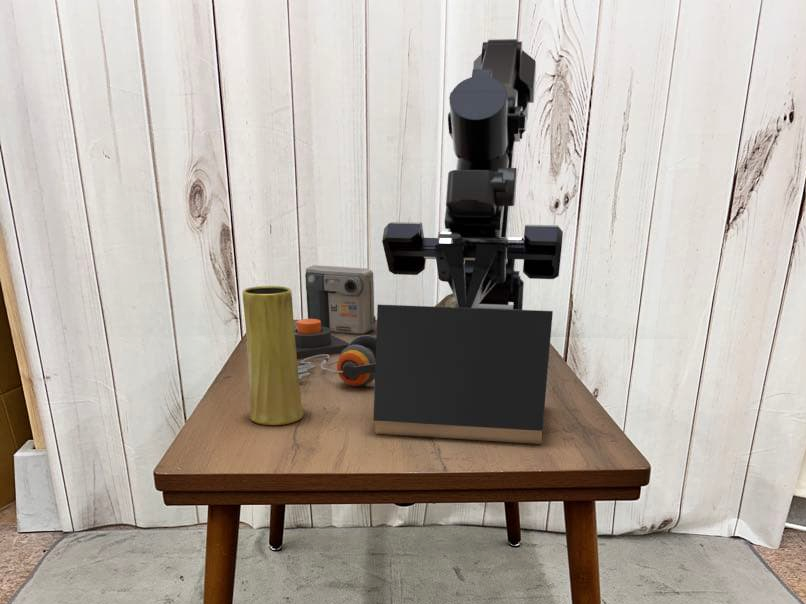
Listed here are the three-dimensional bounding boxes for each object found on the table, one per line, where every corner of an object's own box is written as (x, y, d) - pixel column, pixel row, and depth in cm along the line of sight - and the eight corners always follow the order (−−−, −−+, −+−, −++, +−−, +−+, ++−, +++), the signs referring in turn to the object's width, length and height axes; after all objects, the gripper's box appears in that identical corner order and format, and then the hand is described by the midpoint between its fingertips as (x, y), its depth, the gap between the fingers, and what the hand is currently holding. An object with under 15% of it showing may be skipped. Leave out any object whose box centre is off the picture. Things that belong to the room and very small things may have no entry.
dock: (329, 341, 123) (328, 322, 122) (351, 352, 117) (350, 332, 116) (269, 348, 119) (267, 328, 117) (289, 360, 113) (288, 339, 111)
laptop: (395, 401, 96) (395, 387, 95) (543, 409, 93) (544, 395, 92) (375, 433, 85) (375, 418, 85) (541, 444, 83) (542, 429, 82)
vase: (252, 409, 93) (241, 285, 86) (304, 408, 93) (296, 284, 87) (247, 426, 87) (235, 295, 81) (302, 425, 88) (294, 294, 81)
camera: (302, 330, 130) (299, 267, 125) (319, 324, 134) (316, 263, 130) (364, 337, 126) (363, 272, 121) (379, 329, 131) (378, 267, 126)
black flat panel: (379, 304, 82) (377, 304, 81) (552, 311, 79) (552, 310, 78) (375, 419, 85) (373, 420, 84) (542, 430, 82) (542, 430, 81)
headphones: (295, 341, 112) (429, 313, 107) (305, 376, 114) (437, 351, 109) (255, 373, 97) (409, 343, 92) (268, 413, 99) (419, 386, 94)
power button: (315, 329, 119) (314, 317, 118) (325, 334, 116) (324, 322, 115) (293, 332, 117) (292, 320, 117) (302, 336, 115) (302, 324, 114)
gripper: (384, 136, 79) (363, 267, 75) (571, 137, 76) (560, 273, 72) (399, 212, 90) (380, 331, 85) (563, 215, 87) (553, 339, 82)
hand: (464, 319), depth 81 cm, fingers closed, pressing on black flat panel
